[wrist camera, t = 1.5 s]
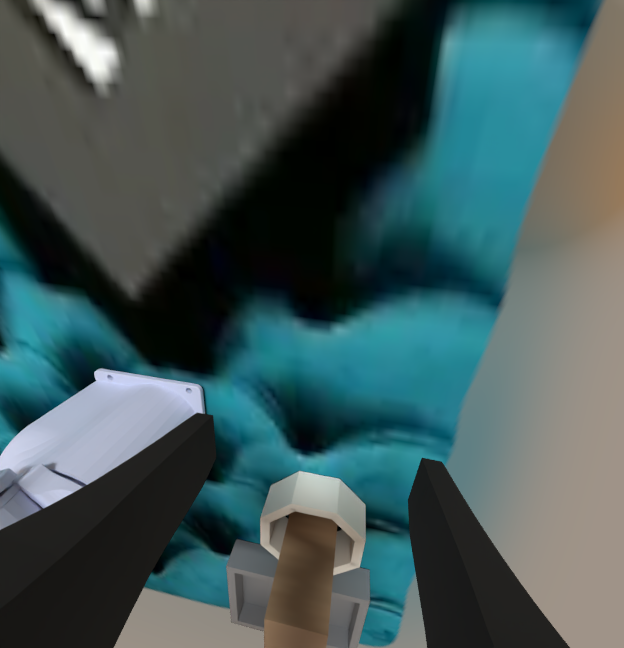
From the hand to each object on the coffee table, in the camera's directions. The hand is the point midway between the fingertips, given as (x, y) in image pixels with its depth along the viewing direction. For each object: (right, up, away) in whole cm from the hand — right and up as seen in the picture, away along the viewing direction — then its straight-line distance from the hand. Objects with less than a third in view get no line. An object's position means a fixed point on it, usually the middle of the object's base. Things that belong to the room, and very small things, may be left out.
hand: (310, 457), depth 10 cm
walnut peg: (0, -12, +17) cm, 21 cm away
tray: (-1, -24, +22) cm, 33 cm away
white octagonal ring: (0, -12, +17) cm, 21 cm away
